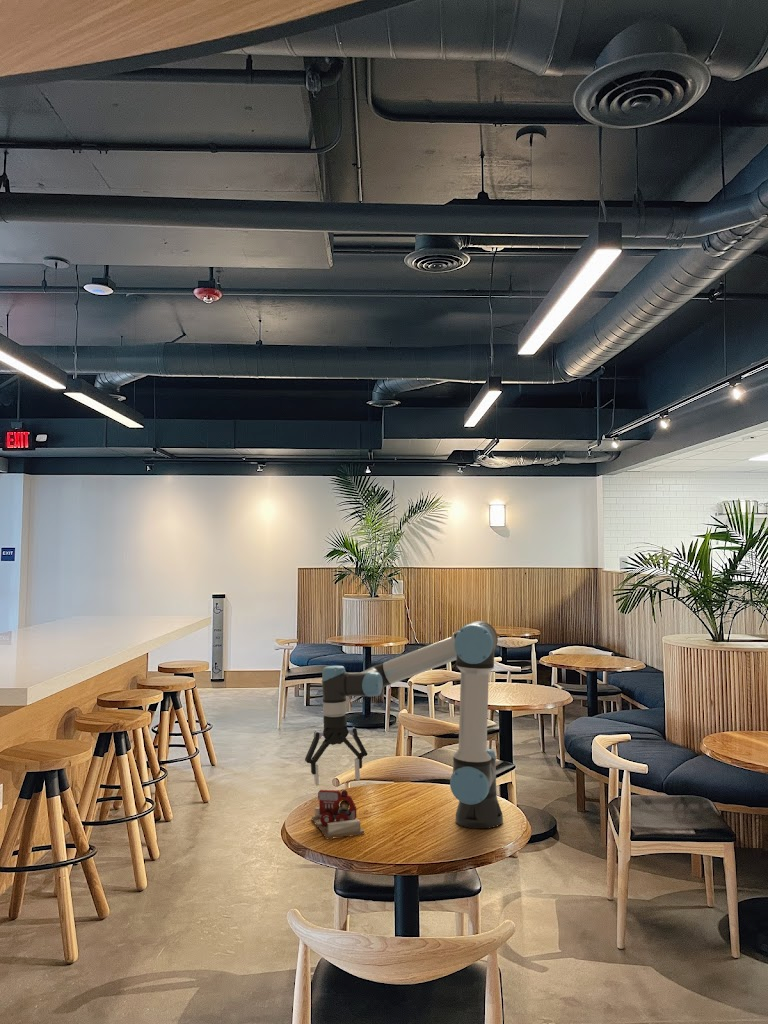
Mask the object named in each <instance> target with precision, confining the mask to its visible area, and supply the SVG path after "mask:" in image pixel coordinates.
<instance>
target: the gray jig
mask: <svg viewBox="0 0 768 1024" xmlns="http://www.w3.org/2000/svg"><path fill="white" fill-rule="evenodd" d="M340 809H341V808H340V803H339V809H338V813H339V810H340ZM312 819H313V821H314V822H315V823H316V825H317V826H318V827H319V829H320V830H321V831H322V833H323V834H324V835H325V837H326V838H333V837H341V838H344V837H343V836H348V837H351V836H350V835H355V836H360V835H364V834H365V830H364V829H363V828H362V827H361V820H360V819H359V818H356V819H355V820H347V821H340V822H336V819H335V820H333V822H332V823H328V826H324V825H322V823H321V821H320V819H321V818H320V816H319V806H315V807H314V816H311V820H312ZM313 821H312V822H313ZM314 822H313V823H314ZM315 823H314V824H315ZM316 825H315V826H316ZM317 826H316V827H317ZM318 827H317V828H318ZM319 829H318V830H319ZM320 830H319V831H320ZM321 831H320V832H321ZM322 833H321V834H322ZM323 834H322V835H323ZM324 835H323V836H324ZM325 837H324V838H325ZM326 838H325V839H326Z"/></svg>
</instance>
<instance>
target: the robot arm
mask: <svg viewBox="0 0 768 1024" xmlns="http://www.w3.org/2000/svg"><path fill="white" fill-rule="evenodd" d="M498 637H499V636H498V633H497V631H496V629H495V627H494V626H492V625H491V624H490V623H489V622H486V621H482V620H475V621H472V622H470V623H468V624H465V625H463V626H462V627H461V628H460V629H459V630H457V631H455V632H453V633H452V636H450V637H447V638H445V639H442V640H440V641H436V642H434V643H431V644H429V645H425V646H424V647H422V648H419V649H415V650H412V651H410V652H408V653H406V654H403V655H400V656H397V657H394V658H392V659H389V660H387V661H385V662H383V663H380V664H376V665H373V666H370V667H369V668H367V669H365V670H363V671H361V672H360V671H359V672H347V671H346V668H345V667H344V666H343V665H328V666H325V667H323V669H322V673H321V674H322V675H321V676H322V678H321V684H322V686H321V687H322V688H321V689H322V708H323V709H322V711H323V712H322V714H323V715H324V716H323V730H322V731H318V730H315V731H314V732H313V739H312V742H311V744H310V747H309V749H308V751H307V753H306V755H305V759H304V761H305V763H307V764H310V773H311V774H312V775H313V776H314V778H313V779H314V781H313V782H314V784H315V786H316V787H317V786H320V784H319V783H320V781H319V780H320V779H319V776H320V775H319V763H317V762H318V760H319V759H320V758H321V756H322V755H323V754H324V752H325V751H326V750H327V748H328V747H329V746H330V745H332V746H334V745H341V744H343V743H344V744H345V746H347V747H348V749H349V750H350V751H351V752H352V754H354V755H355V756H356V757H354V778H355V780H356V781H360V780H361V778H360V775H361V774H360V772H361V771H360V769H363V758H364V757H367V756H368V752H367V750H366V749H365V746H364V745H363V743H362V741H361V738H360V737H359V735H358V730H357V728H356V727H355V726H352V727H351V728H348V721H347V718H348V716H347V697H369V698H371V697H378V696H380V695H381V694H382V691H383V688H386V687H387V686H388V687H389V686H391V685H392V684H395V683H398V682H400V681H403V680H406V679H408V678H411V677H414V676H417V675H419V674H422V673H425V672H427V671H430V670H433V669H435V668H438V667H441V666H443V665H446V664H449V663H451V662H454V661H455V662H456V663H455V665H456V666H455V667H456V668H457V669H458V670H459V671H460V688H459V689H460V691H459V692H460V693H459V695H460V697H459V719H458V720H459V723H458V727H459V728H458V749H457V751H455V752H454V753H453V756H452V757H453V758H452V759H453V761H452V774H451V776H450V778H449V787H450V791H451V792H452V795H453V796H454V797H455V799H456V800H458V805H457V807H456V810H455V811H456V812H455V823H456V822H457V823H458V824H457V823H456V824H457V825H459V826H461V827H463V826H464V827H465V828H467V827H469V828H468V829H473V828H488V829H490V828H489V827H493V826H497V825H500V824H501V823H502V822H503V823H504V815H503V812H502V809H501V807H500V802H499V800H498V795H497V769H496V768H497V767H496V761H497V759H496V752H495V751H494V750H493V749H491V748H487V747H488V714H489V712H488V709H489V705H488V704H489V679H490V675H489V674H490V672H492V670H493V669H495V650H496V648H497V646H498V641H499V640H498V639H499V638H498ZM349 734H350V736H352V737H353V740H354V741H355V743H356V746H357V747H358V749H359V751H358V750H357V749H356V747H355V746H354V745H353V744H352V743H351V742H350V740H348V739H347V737H348V735H349ZM322 737H324V740H323V741H322V743H321V745H320V746H319V748H318V749H317V746H318V744H319V742H320V739H321V738H322ZM316 749H317V750H316ZM315 751H316V752H315ZM503 823H502V824H503ZM502 824H501V825H502ZM501 825H500V826H501ZM497 827H498V826H497Z"/></svg>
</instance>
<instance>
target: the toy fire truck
mask: <svg viewBox="0 0 768 1024" xmlns="http://www.w3.org/2000/svg"><path fill="white" fill-rule="evenodd" d="M348 793H349V792H348V791H347V790H346V789H345V790H344V789H343V790H342V791H340V790H334V789H333V790H329V789H320V790H319V791H318V793H317V799H318V801H319V806H318V807H319V816H320V818H321V819H320V821H321V823H322V825H324V826H328V823H332V822H333V820H335V819H336V822H340V821H347V820H355V819H357V806H356V804H355V802H354V799H353V797H352V796H351V795H348ZM339 804H340V808H341V809H340V810H339V813H338V809H339Z"/></svg>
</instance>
